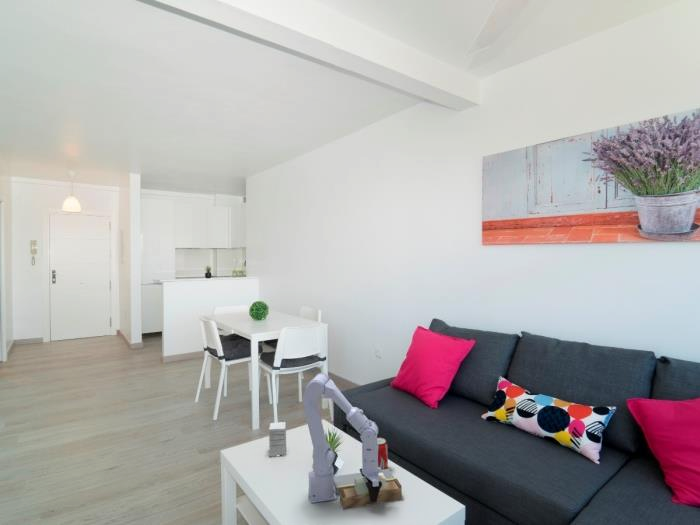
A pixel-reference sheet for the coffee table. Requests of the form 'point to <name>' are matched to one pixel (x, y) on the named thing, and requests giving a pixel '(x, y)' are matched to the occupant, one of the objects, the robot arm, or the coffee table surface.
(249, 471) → the coffee table surface
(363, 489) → the block
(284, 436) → the supplement box
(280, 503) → the coffee table surface
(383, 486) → the cream cube
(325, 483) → the robot arm
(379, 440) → the soda can
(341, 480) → the dock
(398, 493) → the brown wooden long block
